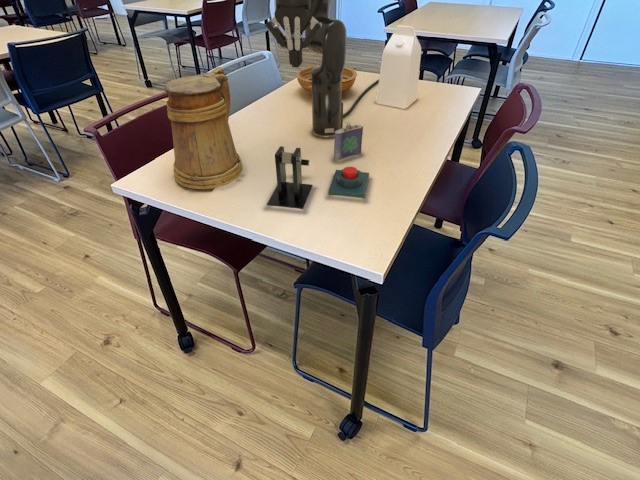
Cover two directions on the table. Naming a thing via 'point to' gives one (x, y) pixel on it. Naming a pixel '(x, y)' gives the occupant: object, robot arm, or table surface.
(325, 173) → the table surface
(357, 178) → the button box
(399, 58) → the milk
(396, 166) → the table surface
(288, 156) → the lever
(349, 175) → the button
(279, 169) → the bracket
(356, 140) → the flask
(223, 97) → the tankard
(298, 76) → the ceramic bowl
